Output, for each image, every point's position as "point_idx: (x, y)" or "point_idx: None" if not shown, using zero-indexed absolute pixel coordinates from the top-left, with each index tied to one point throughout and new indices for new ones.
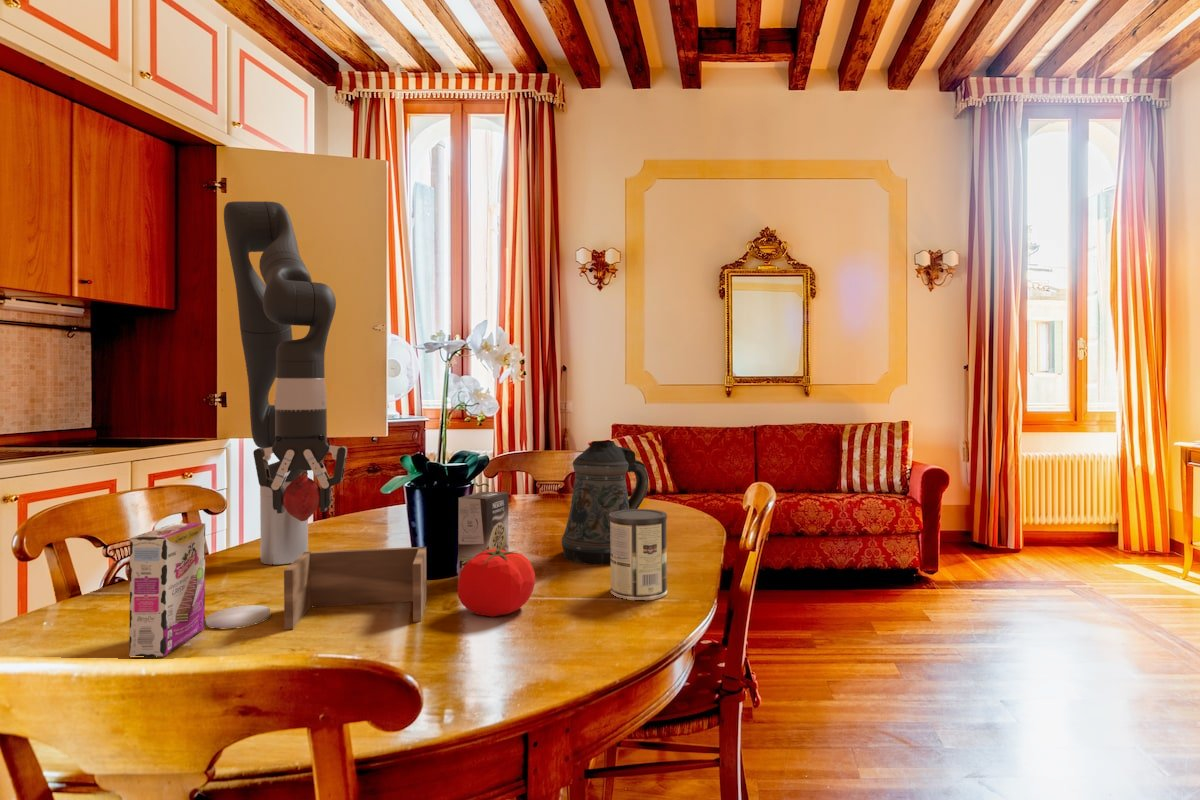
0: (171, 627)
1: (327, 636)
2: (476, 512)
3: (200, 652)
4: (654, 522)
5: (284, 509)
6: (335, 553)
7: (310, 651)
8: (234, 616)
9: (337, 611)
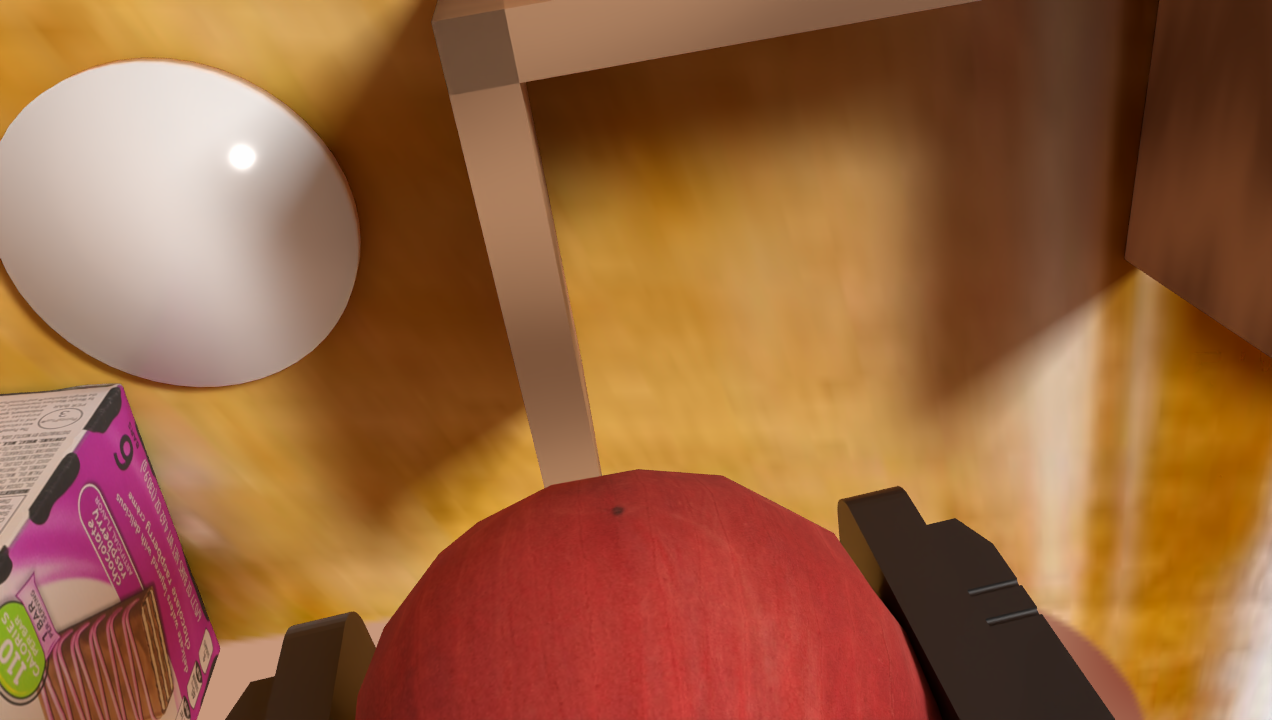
0: (184, 697)
1: (771, 431)
2: None
3: (325, 595)
4: None
5: (356, 634)
6: (750, 39)
7: None
8: (185, 278)
9: (711, 89)
